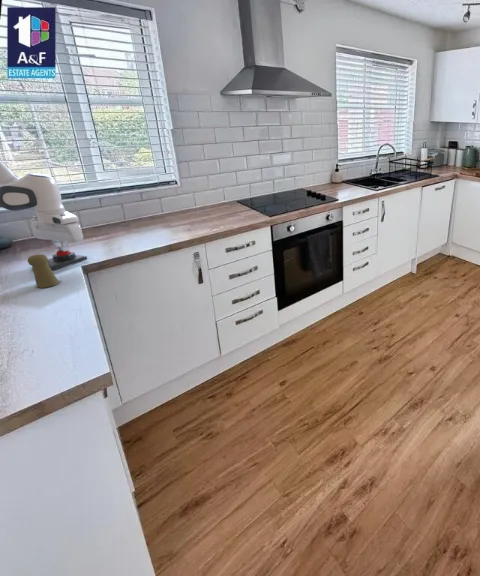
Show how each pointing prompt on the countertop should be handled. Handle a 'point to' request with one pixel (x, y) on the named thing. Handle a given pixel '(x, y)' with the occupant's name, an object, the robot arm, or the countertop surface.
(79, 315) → the countertop surface
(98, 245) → the countertop surface
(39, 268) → the olive brown upright piece
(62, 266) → the dark grey base
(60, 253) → the power button
